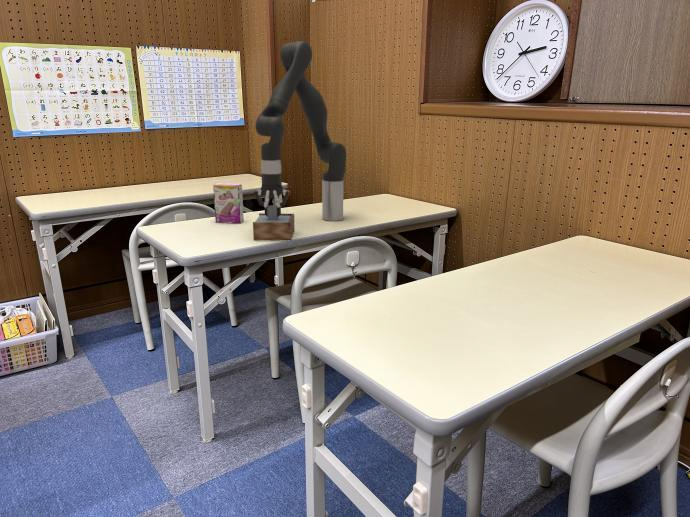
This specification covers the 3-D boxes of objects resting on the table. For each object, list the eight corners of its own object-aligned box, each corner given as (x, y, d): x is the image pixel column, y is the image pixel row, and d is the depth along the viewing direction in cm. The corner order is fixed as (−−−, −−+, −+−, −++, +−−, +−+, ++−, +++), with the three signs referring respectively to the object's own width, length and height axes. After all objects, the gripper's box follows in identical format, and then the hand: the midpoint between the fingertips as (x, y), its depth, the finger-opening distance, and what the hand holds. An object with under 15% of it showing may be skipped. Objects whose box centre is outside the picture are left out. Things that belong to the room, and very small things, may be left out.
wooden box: (294, 230, 203) (294, 213, 200) (290, 240, 188) (290, 222, 186) (260, 230, 203) (259, 213, 200) (253, 240, 188) (252, 222, 186)
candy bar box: (215, 223, 213) (212, 184, 207) (219, 220, 217) (216, 182, 212) (240, 224, 212) (238, 185, 206) (244, 221, 216) (242, 183, 211)
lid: (290, 218, 200) (290, 203, 198) (287, 225, 188) (287, 210, 186) (259, 217, 200) (259, 202, 198) (254, 225, 188) (253, 209, 186)
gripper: (291, 170, 191) (292, 214, 197) (254, 170, 191) (256, 213, 197) (289, 173, 184) (290, 218, 190) (250, 173, 184) (252, 218, 190)
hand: (272, 216), depth 193 cm, fingers closed on lid, 3 cm apart
